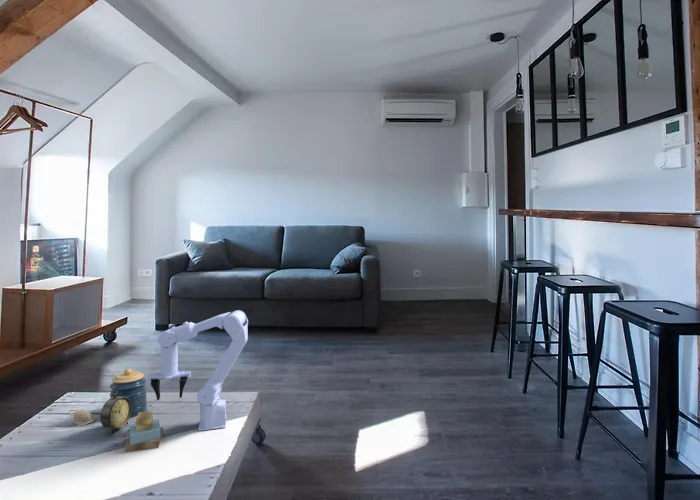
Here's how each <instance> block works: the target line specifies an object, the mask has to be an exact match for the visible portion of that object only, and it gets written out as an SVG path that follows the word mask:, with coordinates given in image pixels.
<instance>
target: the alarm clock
mask: <svg viewBox="0 0 700 500" xmlns="http://www.w3.org/2000/svg"><path fill="white" fill-rule="evenodd" d="M114 387H117V386H114ZM114 387H113V388H114ZM113 388H112V390H113ZM110 390H111V389H110ZM112 390H111V391H110V393H111V394H112ZM117 392H118V387H117ZM117 392H116V394H117ZM116 394H112V395H113V396H114V397H112V398H109V399H107V401H105V402H104V404H103V406H102V407H101V411H100V413H99V415H100V416H99V419H100V423H101V425H102V426H103V428H105V429H109V434H108V437H110V436H112V432H113V430H120V429H121V428H123V427H124V426H125V425H129V422H128V421H130V418H131V417H130V416H131V412H132V405H131V402H130V400H129V399H128V398H127V397H116Z"/></svg>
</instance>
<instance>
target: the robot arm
mask: <svg viewBox="0 0 700 500" xmlns="http://www.w3.org/2000/svg"><path fill="white" fill-rule="evenodd" d="M248 325H249V319H248V317H247V315H246V313H245V312H244V311H243V310H240V309H238V310H233V311H232V312H231V311H229V312H225V313H221V314H218V315H216V316H212V317H211V318H208V319H205V320H202V321H200V322H197V323H194V322H192V321H190V322H188V321H185V322H183V323H182V325H179V326H175V325H174V326H172V327H171V328H169V329H167V330H165V331H163V332H161V333H160V334H159V335H158V338H157V342H158V345H160V372H157V373H150V374H148V375H147V382H150V386H151V387H152V389H153V390H154V393H155V396H156V400H157V401H160V399H161V390H160V389H161V380H173V379H179V380H178V382H179V399H181V398H182V397H183V392H184V388H185V386H186V383H187V381H188V379H190V378H191V376H192V374H191V373H192V372H191V370H188V371H186V370H185V371H184V370H179V357H178V355H179V354H178V353H179V352H178V351H179V348H178V345H179V344H178V343H181V342H185V341H187V340H190V339H192V338H195V337H197V335H198V333H200V332H203V331H206V330H209V329H212V328H215V327H216V328H219V329H220V330H223V329H224V330H225V332H227V334H228V335H229V336H230V339H231V342H230V344H229V346H228V348H227V349H226V350H225V353H224V355H222V357H221V359H220V360H219V363H218V364H217V366H216V368H215V370H214V372H213V373H212V375H211V376H210V378H209V380H208V381H207V382H206V383H205V385H204V386H203V387H202V388H201V389H200V390H198V392H197V394H196V400H197V402H198V403H199V424H198V431H199V432H201V431H208V430H215V429H217V430H218V429H223V428H226V427H227V426H226V424H227V423H226V422H227V419H228V415H227V414H226V413H227V408H226V406H227V405H226V404H227V403H226V401H227V400H226V399H221V397H220V394H221V392H222V390H223V388H222V387H223V383H224V382H225V379H226V378H227V376H228V375H229V372H230V371H231V369H232V367H233V366H234V364H235V362H236V361H237V359H238V358H239V355H240V354H241V352H242V351H243V348H244V347H245V345H246V344H247V342H248V340H249V339H248V338H249V334H248V327H249V326H248Z"/></svg>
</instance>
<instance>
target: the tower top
mask: <svg viewBox="0 0 700 500" xmlns="http://www.w3.org/2000/svg"><path fill="white" fill-rule="evenodd" d="M160 427H161V426H160V419H159V418H155V419H153V425H152V427H151V429H147V430H140V431H137V430H136V422H134V423H130V424H129V436H130V445H132V444H137V443H141V442H146V441H150V440H155V439H159V438H161V437H160Z"/></svg>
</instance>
